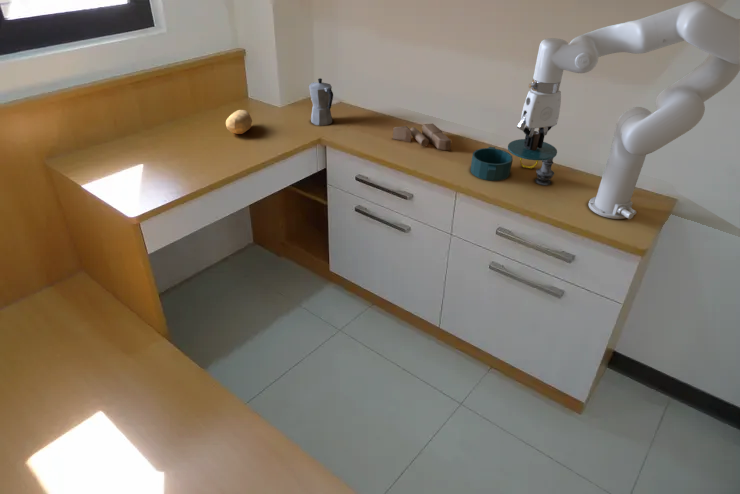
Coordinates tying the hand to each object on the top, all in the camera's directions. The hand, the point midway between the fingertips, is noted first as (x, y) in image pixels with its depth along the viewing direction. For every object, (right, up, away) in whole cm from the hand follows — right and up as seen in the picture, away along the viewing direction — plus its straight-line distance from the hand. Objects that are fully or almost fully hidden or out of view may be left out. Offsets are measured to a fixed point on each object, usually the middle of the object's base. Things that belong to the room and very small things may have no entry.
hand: (532, 146), depth 154 cm
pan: (-7, -4, +25) cm, 26 cm away
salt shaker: (+10, -8, +19) cm, 23 cm away
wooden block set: (-29, +9, +43) cm, 53 cm away
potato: (-101, +16, +51) cm, 114 cm away
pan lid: (0, -1, +1) cm, 1 cm away
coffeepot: (-69, +22, +61) cm, 94 cm away
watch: (+7, -2, +28) cm, 29 cm away
